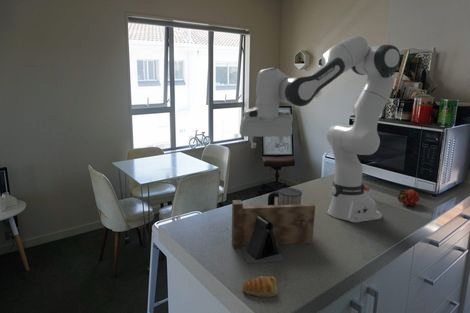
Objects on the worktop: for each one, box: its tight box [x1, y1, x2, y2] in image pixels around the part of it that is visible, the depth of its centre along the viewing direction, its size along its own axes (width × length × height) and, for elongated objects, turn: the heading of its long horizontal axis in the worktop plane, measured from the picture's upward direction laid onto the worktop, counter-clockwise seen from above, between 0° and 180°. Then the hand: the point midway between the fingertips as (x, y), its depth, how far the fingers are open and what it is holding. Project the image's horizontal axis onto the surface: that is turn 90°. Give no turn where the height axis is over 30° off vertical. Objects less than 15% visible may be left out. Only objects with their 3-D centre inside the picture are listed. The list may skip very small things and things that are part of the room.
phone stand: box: [247, 216, 280, 260], centre depth 112 cm, size 9×6×12 cm, turn 118°
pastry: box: [242, 275, 278, 298], centre depth 94 cm, size 9×7×4 cm
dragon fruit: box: [397, 188, 420, 207], centre depth 161 cm, size 8×8×12 cm
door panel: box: [231, 199, 316, 249], centre depth 119 cm, size 29×5×16 cm, turn 99°
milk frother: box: [267, 187, 303, 205], centre depth 131 cm, size 14×16×15 cm
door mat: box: [241, 245, 285, 264], centre depth 114 cm, size 12×11×1 cm
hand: (265, 147), depth 132 cm, fingers open, 8 cm apart
